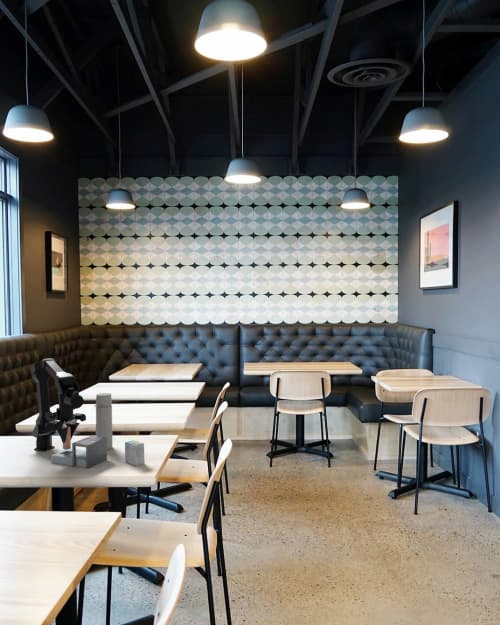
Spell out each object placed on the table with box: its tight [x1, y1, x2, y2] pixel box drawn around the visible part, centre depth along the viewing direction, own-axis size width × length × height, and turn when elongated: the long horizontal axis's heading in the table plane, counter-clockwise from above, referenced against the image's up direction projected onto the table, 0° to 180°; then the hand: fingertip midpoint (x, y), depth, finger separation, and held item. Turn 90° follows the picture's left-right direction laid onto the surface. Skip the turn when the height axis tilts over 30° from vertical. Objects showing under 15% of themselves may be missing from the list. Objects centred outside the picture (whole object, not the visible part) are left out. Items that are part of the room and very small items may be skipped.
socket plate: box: [50, 448, 86, 468], centre depth 209 cm, size 10×19×3 cm, turn 69°
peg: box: [62, 427, 72, 450], centre depth 211 cm, size 3×3×9 cm
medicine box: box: [124, 439, 145, 467], centre depth 206 cm, size 8×4×9 cm, turn 47°
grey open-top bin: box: [71, 435, 108, 469], centre depth 207 cm, size 12×8×10 cm, turn 159°
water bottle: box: [94, 392, 113, 451], centre depth 227 cm, size 9×8×25 cm
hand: (66, 441), depth 211 cm, fingers closed on peg, 3 cm apart
